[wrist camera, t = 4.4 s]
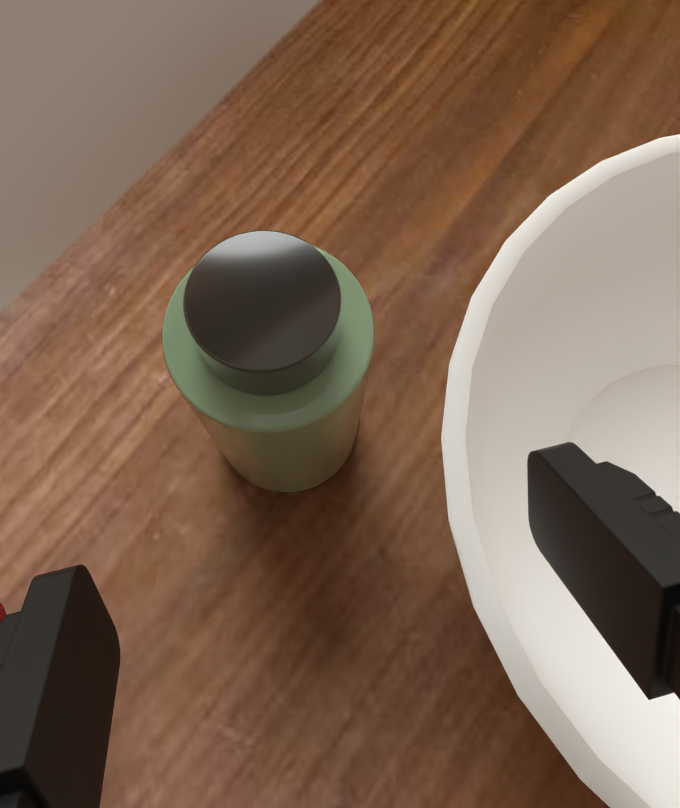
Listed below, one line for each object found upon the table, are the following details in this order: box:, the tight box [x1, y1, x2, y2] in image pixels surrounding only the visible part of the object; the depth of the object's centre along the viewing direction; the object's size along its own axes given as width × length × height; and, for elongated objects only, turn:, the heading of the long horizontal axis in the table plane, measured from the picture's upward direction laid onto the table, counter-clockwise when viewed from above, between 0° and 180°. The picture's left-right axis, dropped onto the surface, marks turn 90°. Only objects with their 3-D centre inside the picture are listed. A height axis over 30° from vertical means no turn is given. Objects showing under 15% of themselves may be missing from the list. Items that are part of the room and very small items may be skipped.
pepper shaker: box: [162, 230, 375, 492], centre depth 17 cm, size 5×5×10 cm
